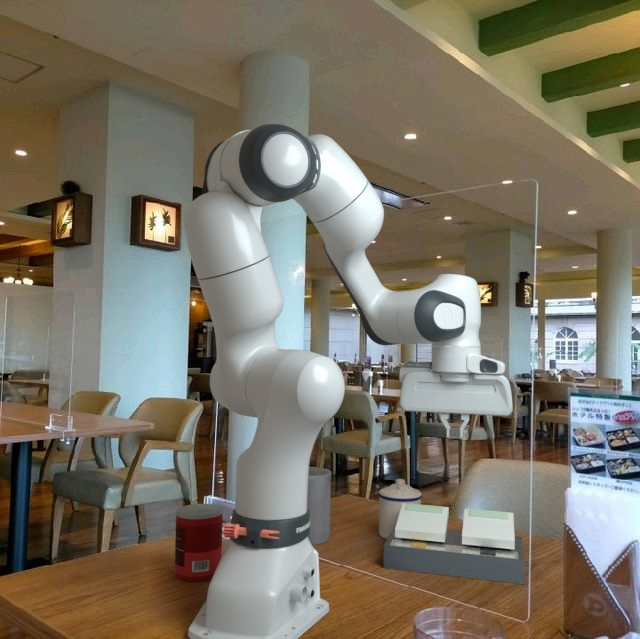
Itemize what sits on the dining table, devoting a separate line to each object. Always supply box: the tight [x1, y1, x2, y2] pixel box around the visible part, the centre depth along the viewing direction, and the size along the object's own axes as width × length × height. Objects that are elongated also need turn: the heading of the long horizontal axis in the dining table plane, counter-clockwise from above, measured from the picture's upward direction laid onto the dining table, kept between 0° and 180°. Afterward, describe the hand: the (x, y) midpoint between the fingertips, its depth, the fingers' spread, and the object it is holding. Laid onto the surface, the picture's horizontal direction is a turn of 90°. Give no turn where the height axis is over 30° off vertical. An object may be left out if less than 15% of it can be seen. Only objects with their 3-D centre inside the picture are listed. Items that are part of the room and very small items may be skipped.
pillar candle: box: [307, 465, 332, 546], centre depth 128 cm, size 10×10×15 cm
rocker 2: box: [462, 508, 516, 550], centre depth 115 cm, size 10×9×2 cm
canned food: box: [174, 503, 224, 583], centre depth 108 cm, size 8×8×11 cm
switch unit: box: [383, 525, 526, 585], centre depth 115 cm, size 14×24×5 cm, turn 74°
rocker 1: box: [395, 503, 450, 542], centre depth 118 cm, size 10×9×2 cm
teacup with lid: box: [377, 478, 423, 540], centre depth 132 cm, size 12×9×12 cm
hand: (454, 438), depth 114 cm, fingers closed
